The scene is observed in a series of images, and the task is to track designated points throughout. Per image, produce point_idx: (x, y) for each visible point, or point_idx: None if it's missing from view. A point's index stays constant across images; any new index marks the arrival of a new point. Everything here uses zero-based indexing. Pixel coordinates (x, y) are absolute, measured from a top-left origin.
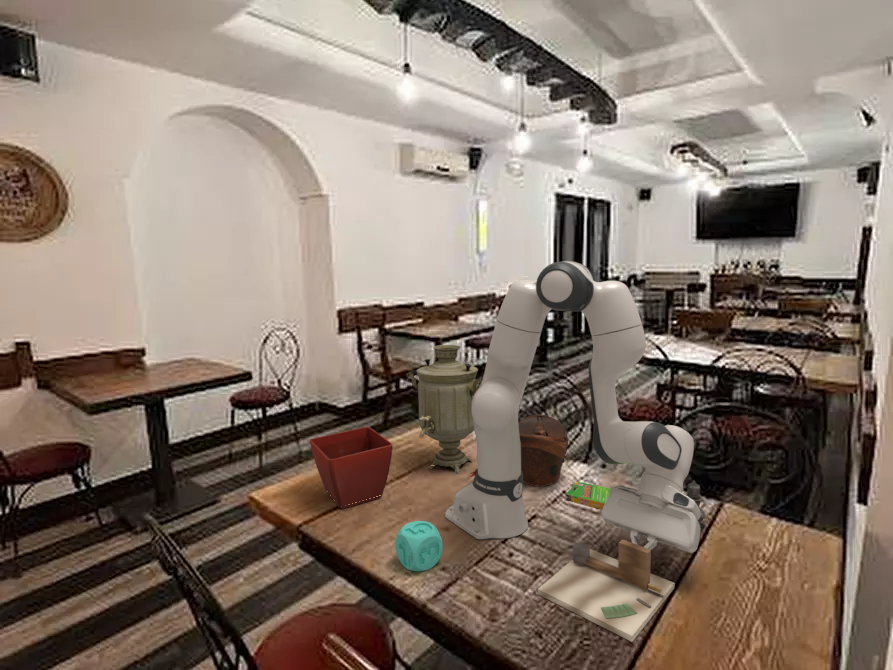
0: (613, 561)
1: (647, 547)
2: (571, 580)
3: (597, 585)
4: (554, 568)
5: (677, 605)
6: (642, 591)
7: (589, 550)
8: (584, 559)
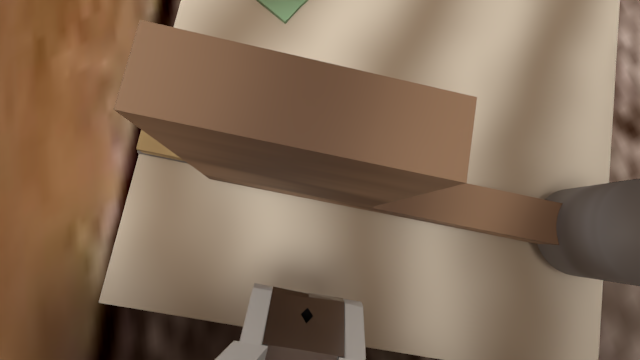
0: (434, 329)
1: (225, 352)
2: (541, 72)
3: None
4: (629, 163)
5: (87, 167)
6: None
7: (591, 233)
8: (568, 195)
